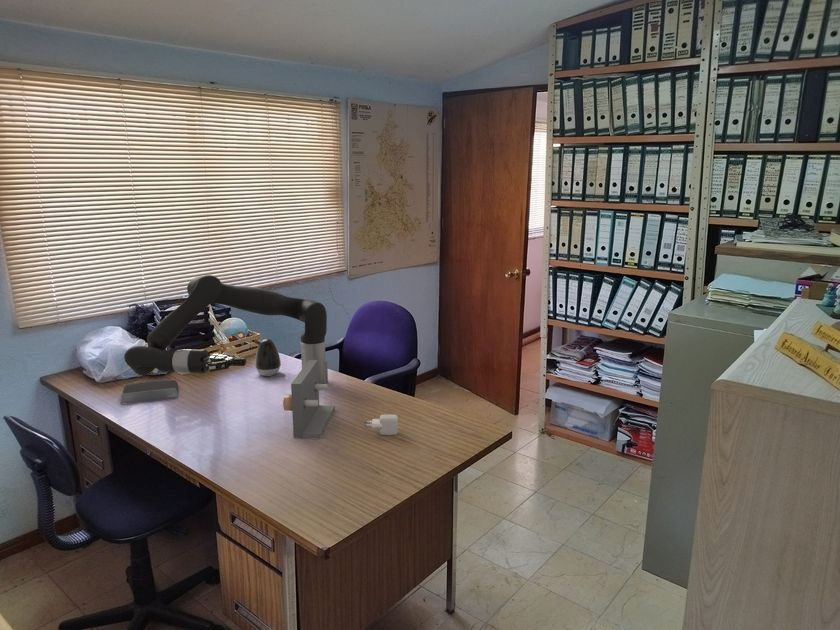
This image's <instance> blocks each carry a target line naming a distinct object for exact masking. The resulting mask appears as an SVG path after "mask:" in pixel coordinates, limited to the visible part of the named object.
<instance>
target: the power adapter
mask: <svg viewBox="0 0 840 630" xmlns="http://www.w3.org/2000/svg"><path fill="white" fill-rule="evenodd" d="M362 427H371V429H379V435H381V436H396V435H398V434H399V417H398V415H397V414H381V415H380V416H379V418H372V420H363V424H362Z"/></svg>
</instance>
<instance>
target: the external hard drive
mask: <svg viewBox="0 0 840 630" xmlns="http://www.w3.org/2000/svg"><path fill="white" fill-rule="evenodd" d="M179 387H180V385H179V384H178V382H177V380H174V379H169V380H167V379H166V380H165V379H164V380H153V381H145V382H144V381H143V382H137V383H131V384H127V385H126V384H125V386H124V388H123V391H122V394H121V398H120V405H124V404H123V403H127V404H138V403H146V402H153V401H154V402H155V401H161V400H162V401H163V400H169V399H177V398H179V396H180V395H179V391H180V390H179Z"/></svg>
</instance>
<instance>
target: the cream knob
mask: <svg viewBox="0 0 840 630" xmlns="http://www.w3.org/2000/svg"><path fill="white" fill-rule="evenodd" d="M314 387H315V390H319V391H321V390H322V391H328V389H329V386H328V383H326V384H314Z"/></svg>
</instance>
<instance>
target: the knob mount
mask: <svg viewBox="0 0 840 630" xmlns="http://www.w3.org/2000/svg"><path fill="white" fill-rule="evenodd" d="M314 384H318V360H309V361H308V362H307V363H306V365H305V366H304V367H303V369H302V368H301V370H300V372H299V373H298V374H297V375H296V377H294V379H293V380H292V382H291V383H290V387H291V388H290V389H291V394H290V395H292V412H291V413H292V414H291V415H292V432H293V433H292V434H293V439H309V438H315V440H317V439H318V440H319V439H322V436H323V434H324V432H325V430H326V428H327V426H328V424H329V422H330V420H331V418H332V416H333V414H334V413H335V410H336V407H335V405H329V404H324V405H323V404H321V405H320V394H319V393H320V390H315V387H314ZM304 400H318V402H319V403H318V407H316V406H304ZM316 438H317V439H316Z"/></svg>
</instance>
